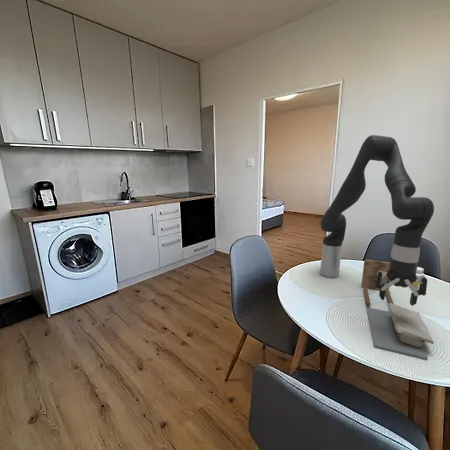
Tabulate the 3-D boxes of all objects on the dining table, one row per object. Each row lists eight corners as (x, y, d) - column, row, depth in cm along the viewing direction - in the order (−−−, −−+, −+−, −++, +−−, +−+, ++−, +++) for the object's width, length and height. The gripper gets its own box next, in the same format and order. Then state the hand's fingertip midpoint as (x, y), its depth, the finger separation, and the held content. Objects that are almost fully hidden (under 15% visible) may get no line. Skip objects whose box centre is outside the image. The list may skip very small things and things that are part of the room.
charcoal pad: (373, 347, 81) (374, 345, 81) (366, 309, 103) (366, 307, 102) (427, 360, 76) (427, 357, 76) (407, 316, 97) (408, 315, 97)
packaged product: (392, 340, 82) (428, 353, 78) (397, 327, 80) (435, 341, 77) (384, 312, 98) (414, 322, 94) (388, 301, 96) (419, 311, 92)
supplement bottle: (417, 284, 123) (420, 266, 120) (424, 290, 117) (428, 270, 115) (405, 284, 123) (408, 265, 121) (412, 289, 118) (415, 270, 116)
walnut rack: (365, 307, 104) (369, 276, 100) (361, 286, 121) (364, 259, 118) (396, 313, 99) (401, 281, 96) (387, 290, 117) (392, 262, 114)
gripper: (380, 258, 82) (374, 302, 86) (434, 265, 77) (425, 312, 80) (377, 251, 89) (371, 292, 93) (427, 256, 83) (418, 300, 87)
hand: (396, 301), depth 87 cm, fingers open, 8 cm apart
